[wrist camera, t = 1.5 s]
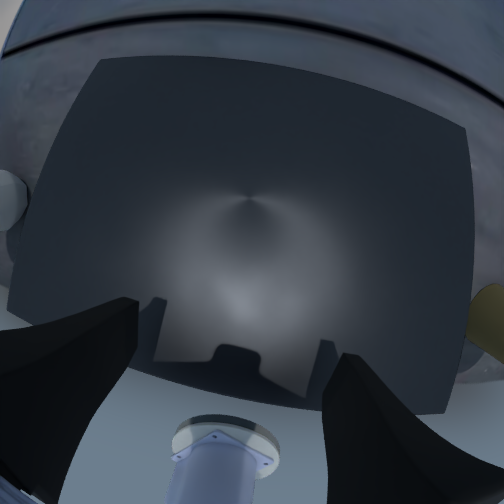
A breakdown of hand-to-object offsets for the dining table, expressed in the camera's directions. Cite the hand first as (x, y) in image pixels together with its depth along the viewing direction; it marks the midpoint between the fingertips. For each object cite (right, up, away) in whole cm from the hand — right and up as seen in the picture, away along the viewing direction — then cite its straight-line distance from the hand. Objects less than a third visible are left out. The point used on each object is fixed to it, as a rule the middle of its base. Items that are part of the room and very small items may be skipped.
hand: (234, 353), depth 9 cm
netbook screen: (0, +6, +5) cm, 7 cm away
